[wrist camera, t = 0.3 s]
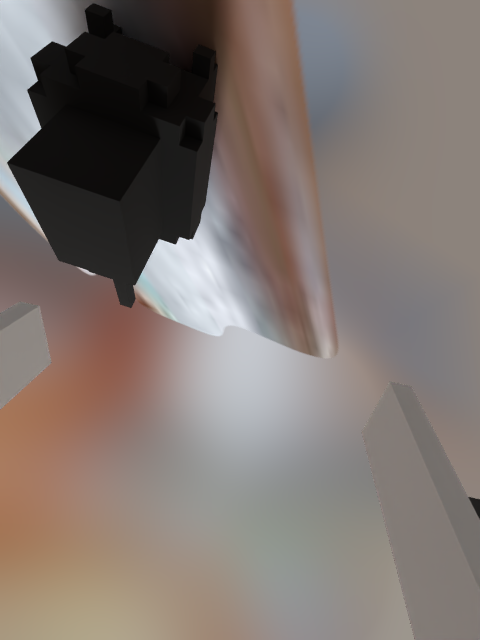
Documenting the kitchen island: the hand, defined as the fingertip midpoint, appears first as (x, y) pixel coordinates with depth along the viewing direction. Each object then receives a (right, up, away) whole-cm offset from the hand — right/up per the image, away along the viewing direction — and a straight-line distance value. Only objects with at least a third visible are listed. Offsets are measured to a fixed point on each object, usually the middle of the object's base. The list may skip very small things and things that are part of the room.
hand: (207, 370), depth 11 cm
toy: (-4, +13, +9) cm, 17 cm away
